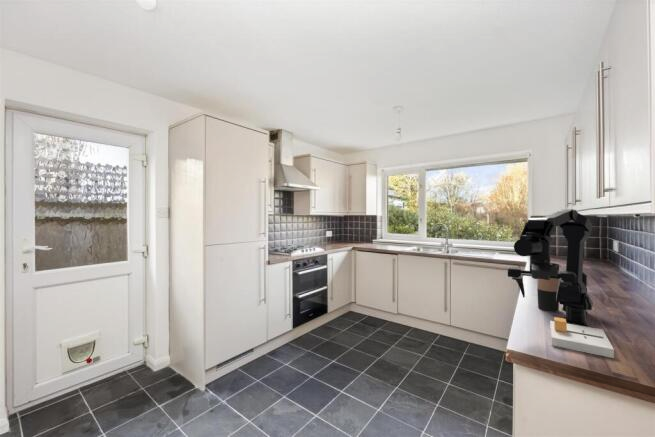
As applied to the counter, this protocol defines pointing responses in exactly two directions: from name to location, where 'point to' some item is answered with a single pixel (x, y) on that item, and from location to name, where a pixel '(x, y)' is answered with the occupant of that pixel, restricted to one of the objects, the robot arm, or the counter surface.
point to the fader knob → (560, 324)
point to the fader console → (582, 339)
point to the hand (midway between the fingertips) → (540, 299)
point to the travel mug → (548, 293)
